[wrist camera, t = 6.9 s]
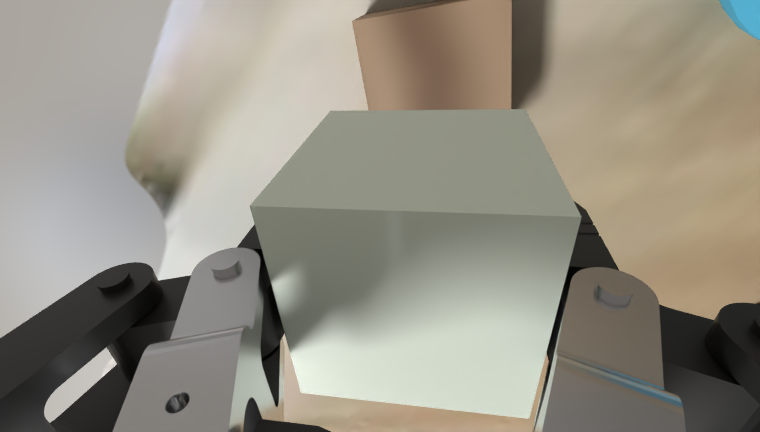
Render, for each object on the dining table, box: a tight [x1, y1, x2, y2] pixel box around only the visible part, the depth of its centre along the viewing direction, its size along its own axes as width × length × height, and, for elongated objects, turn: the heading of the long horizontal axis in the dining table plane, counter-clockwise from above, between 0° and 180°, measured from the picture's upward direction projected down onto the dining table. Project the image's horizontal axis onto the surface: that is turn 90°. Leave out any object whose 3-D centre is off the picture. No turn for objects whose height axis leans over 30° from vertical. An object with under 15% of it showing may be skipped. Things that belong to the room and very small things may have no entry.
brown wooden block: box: [352, 0, 512, 111], centre depth 23 cm, size 8×8×4 cm
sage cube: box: [250, 109, 581, 419], centre depth 9 cm, size 5×5×5 cm
